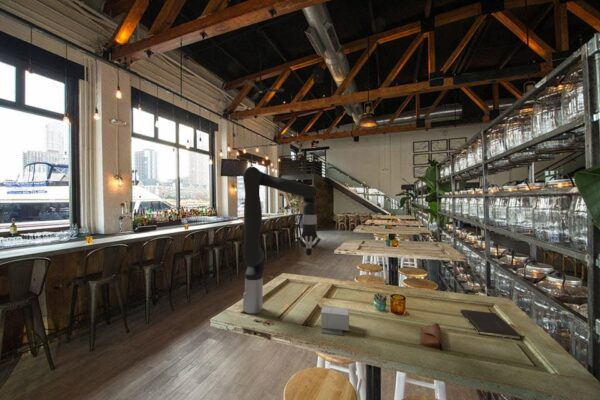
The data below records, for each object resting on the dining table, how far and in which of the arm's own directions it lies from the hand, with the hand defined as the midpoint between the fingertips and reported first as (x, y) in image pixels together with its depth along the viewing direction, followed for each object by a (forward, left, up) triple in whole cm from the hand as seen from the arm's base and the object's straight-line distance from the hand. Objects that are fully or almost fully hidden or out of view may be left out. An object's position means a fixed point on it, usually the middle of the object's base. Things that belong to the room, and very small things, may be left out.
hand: (309, 255), depth 139 cm
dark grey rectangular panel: (+15, -16, -29) cm, 36 cm away
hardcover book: (+87, +3, -30) cm, 92 cm away
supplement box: (+9, -16, -25) cm, 31 cm away
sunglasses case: (+57, -16, -30) cm, 66 cm away
